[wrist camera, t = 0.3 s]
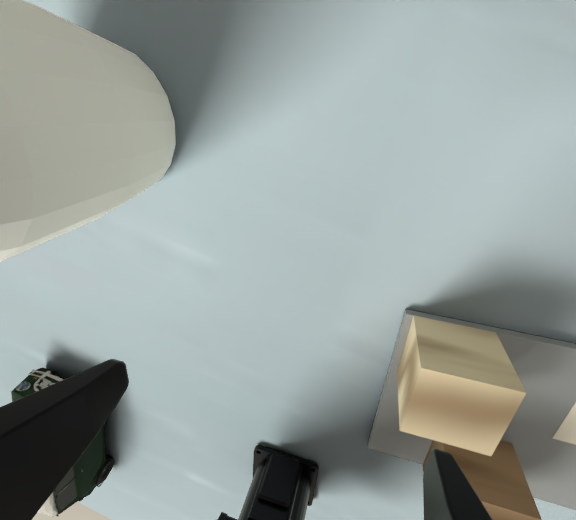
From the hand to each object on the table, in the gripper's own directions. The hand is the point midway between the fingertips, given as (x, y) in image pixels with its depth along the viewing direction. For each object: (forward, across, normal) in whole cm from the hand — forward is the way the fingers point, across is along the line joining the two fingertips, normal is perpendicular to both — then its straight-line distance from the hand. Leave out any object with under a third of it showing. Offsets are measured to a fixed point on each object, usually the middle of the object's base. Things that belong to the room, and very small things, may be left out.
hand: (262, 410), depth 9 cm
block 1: (+14, -8, +7) cm, 17 cm away
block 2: (+14, -12, +16) cm, 24 cm away
